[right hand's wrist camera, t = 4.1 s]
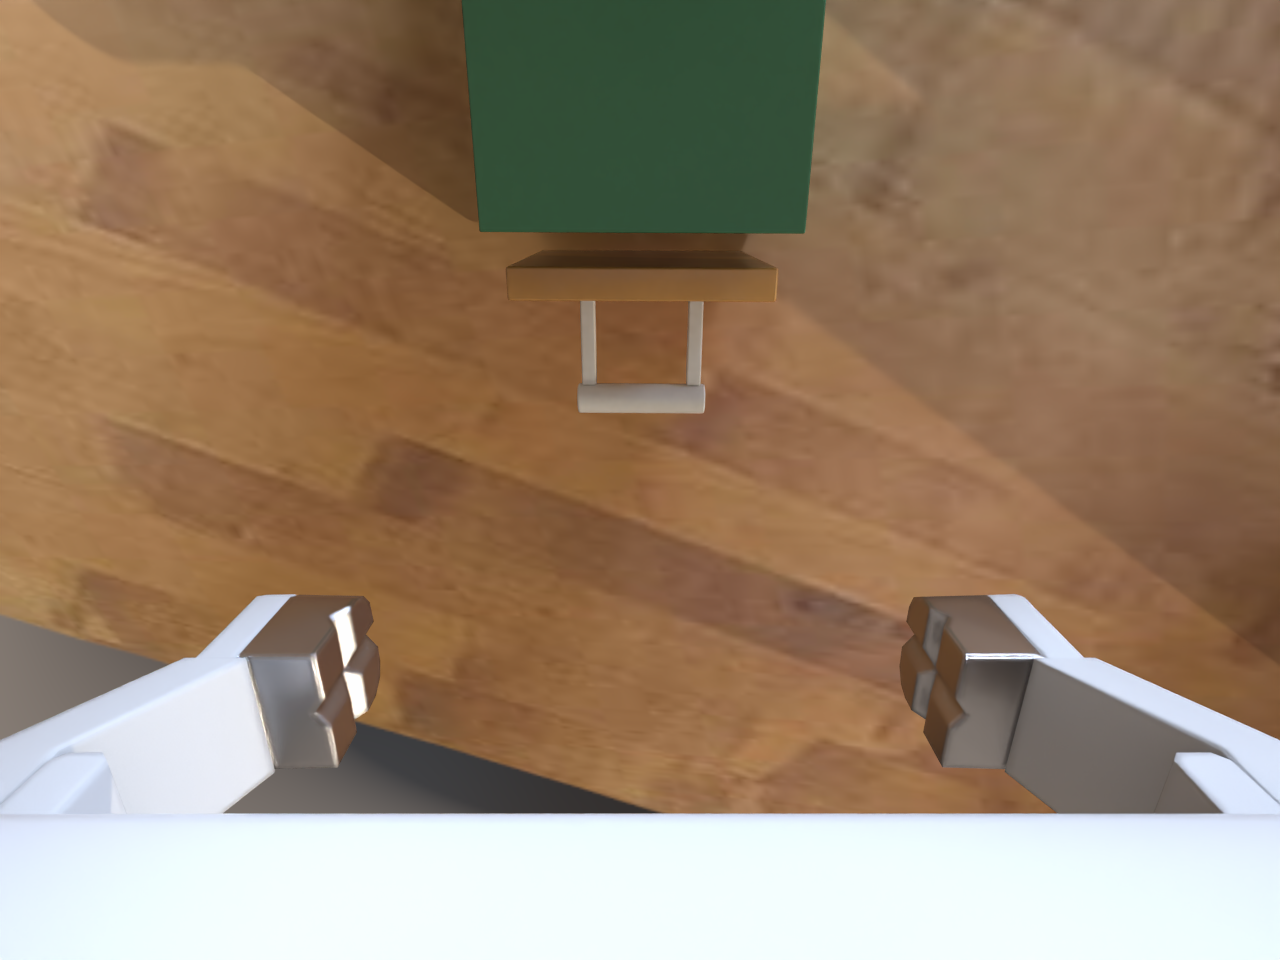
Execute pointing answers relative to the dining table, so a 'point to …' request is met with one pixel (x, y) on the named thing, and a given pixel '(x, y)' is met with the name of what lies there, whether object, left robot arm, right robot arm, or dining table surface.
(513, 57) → the cabinet
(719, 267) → the drawer
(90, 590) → the dining table surface
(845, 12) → the dining table surface
